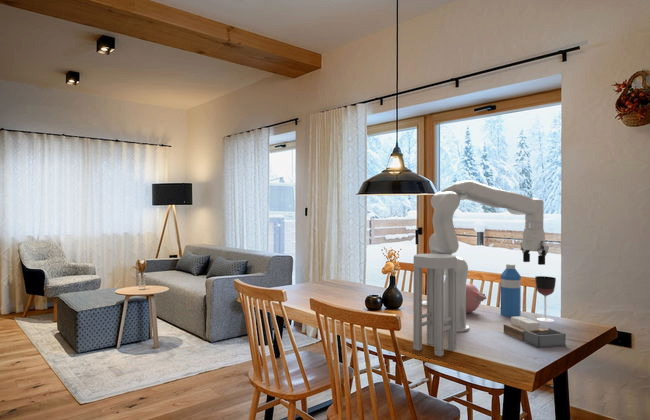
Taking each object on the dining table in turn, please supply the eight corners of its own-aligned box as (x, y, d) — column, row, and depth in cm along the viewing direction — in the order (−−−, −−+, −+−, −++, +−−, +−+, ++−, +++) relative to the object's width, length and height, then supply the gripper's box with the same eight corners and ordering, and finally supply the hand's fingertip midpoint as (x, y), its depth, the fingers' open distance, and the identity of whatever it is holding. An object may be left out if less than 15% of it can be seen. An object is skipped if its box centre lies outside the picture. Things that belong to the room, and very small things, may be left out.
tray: (538, 347, 164) (538, 335, 164) (523, 341, 172) (523, 329, 172) (565, 345, 167) (565, 333, 167) (549, 339, 175) (549, 328, 175)
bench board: (522, 340, 173) (522, 332, 173) (503, 332, 184) (503, 324, 184) (548, 338, 176) (548, 330, 176) (527, 330, 187) (528, 322, 187)
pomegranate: (475, 320, 205) (475, 287, 205) (442, 311, 222) (442, 281, 222) (495, 315, 214) (495, 284, 214) (462, 307, 231) (462, 278, 231)
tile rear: (518, 327, 180) (518, 319, 180) (511, 323, 185) (511, 316, 185) (529, 326, 181) (529, 319, 181) (521, 323, 186) (521, 316, 186)
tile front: (528, 330, 175) (528, 323, 175) (520, 327, 179) (520, 320, 179) (539, 330, 176) (539, 322, 176) (530, 326, 181) (530, 319, 181)
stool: (405, 349, 162) (405, 255, 162) (428, 340, 173) (428, 252, 173) (442, 359, 151) (442, 258, 151) (464, 349, 162) (464, 255, 162)
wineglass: (554, 322, 201) (555, 279, 200) (534, 320, 205) (534, 277, 205) (556, 319, 207) (556, 277, 207) (536, 316, 212) (536, 275, 212)
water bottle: (522, 317, 210) (523, 265, 210) (502, 316, 212) (502, 265, 212) (518, 313, 219) (518, 263, 219) (498, 312, 221) (498, 263, 221)
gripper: (514, 225, 206) (514, 261, 206) (540, 226, 189) (540, 265, 189) (528, 225, 208) (527, 260, 208) (555, 226, 191) (555, 265, 191)
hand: (533, 263), depth 199 cm, fingers open, 9 cm apart
